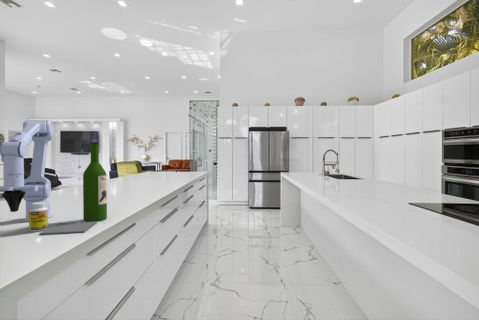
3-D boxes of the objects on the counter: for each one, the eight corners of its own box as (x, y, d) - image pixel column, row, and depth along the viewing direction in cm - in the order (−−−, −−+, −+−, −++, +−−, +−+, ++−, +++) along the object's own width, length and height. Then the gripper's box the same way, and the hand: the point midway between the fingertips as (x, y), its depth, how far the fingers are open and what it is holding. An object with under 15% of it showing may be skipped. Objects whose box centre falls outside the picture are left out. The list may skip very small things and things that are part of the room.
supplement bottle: (28, 233, 95) (27, 204, 95) (29, 229, 100) (29, 202, 100) (47, 230, 98) (47, 203, 98) (48, 227, 103) (47, 201, 103)
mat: (58, 224, 107) (58, 223, 107) (97, 222, 109) (97, 221, 109) (39, 235, 93) (39, 233, 93) (84, 232, 96) (84, 230, 96)
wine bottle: (100, 222, 111) (99, 144, 110) (78, 222, 111) (77, 144, 110) (110, 217, 119) (110, 145, 119) (91, 217, 120) (90, 145, 119)
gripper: (-18, 175, 92) (-17, 214, 92) (30, 174, 95) (30, 212, 95) (-4, 174, 99) (-3, 210, 99) (40, 173, 102) (41, 208, 102)
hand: (14, 211), depth 97 cm, fingers closed
